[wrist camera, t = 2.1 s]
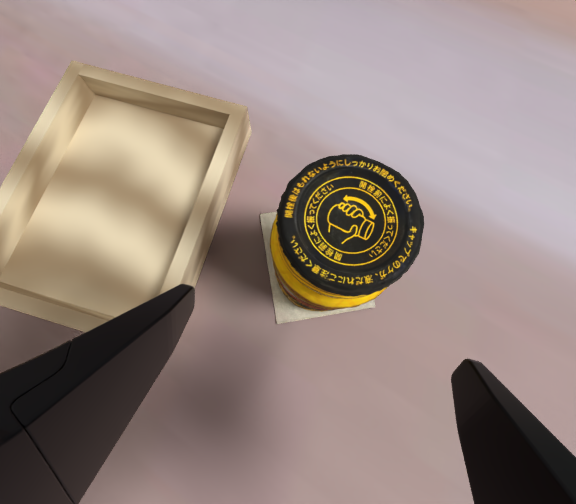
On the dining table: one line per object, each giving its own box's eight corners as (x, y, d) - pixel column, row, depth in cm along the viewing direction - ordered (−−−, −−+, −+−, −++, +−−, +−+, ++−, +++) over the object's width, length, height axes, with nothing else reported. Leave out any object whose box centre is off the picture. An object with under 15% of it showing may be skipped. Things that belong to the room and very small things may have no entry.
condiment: (277, 324, 20) (268, 334, 9) (259, 214, 22) (234, 103, 11) (374, 307, 21) (491, 295, 9) (350, 201, 23) (420, 78, 11)
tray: (172, 348, 20) (153, 353, 17) (-9, 291, 21) (-57, 287, 18) (251, 132, 24) (246, 106, 21) (97, 91, 24) (71, 60, 22)
